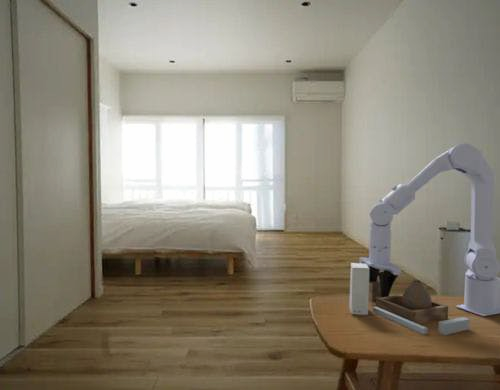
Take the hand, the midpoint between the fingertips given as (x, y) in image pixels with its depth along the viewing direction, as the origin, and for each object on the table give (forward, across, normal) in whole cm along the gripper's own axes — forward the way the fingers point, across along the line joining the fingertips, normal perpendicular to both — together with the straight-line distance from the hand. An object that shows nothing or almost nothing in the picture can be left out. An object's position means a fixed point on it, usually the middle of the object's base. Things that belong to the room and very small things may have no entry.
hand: (378, 294), depth 113 cm
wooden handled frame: (+2, +8, 0) cm, 8 cm away
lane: (+2, +16, -2) cm, 16 cm away
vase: (+2, +13, 0) cm, 14 cm away
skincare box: (+2, +5, -11) cm, 12 cm away
